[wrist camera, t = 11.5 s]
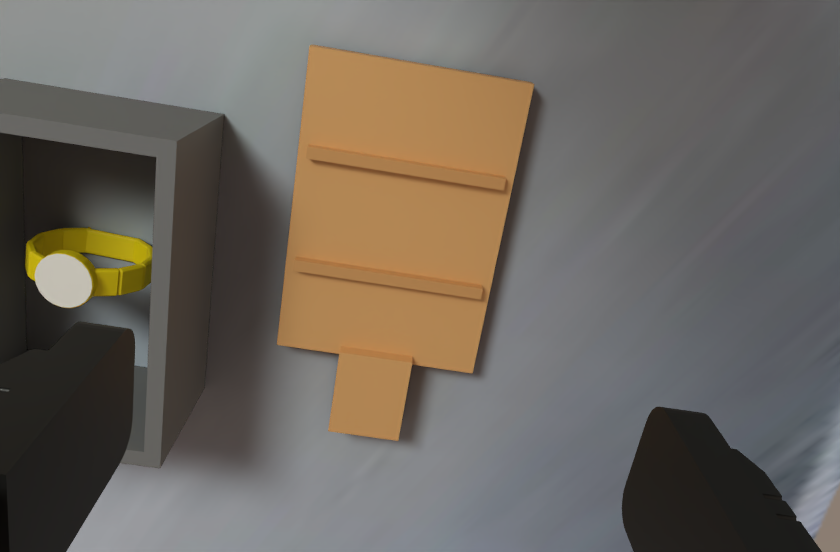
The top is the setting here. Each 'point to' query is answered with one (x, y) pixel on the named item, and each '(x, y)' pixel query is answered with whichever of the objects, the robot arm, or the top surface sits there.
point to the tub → (172, 236)
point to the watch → (85, 265)
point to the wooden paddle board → (396, 223)
